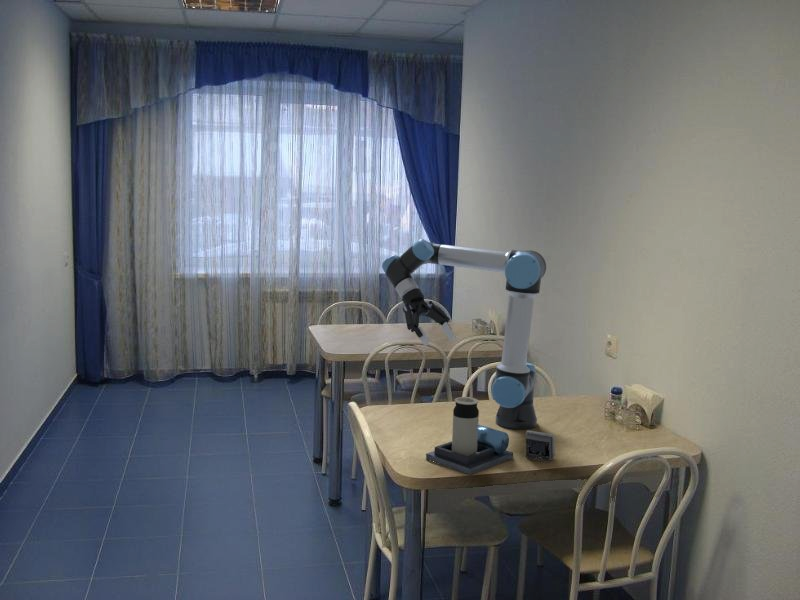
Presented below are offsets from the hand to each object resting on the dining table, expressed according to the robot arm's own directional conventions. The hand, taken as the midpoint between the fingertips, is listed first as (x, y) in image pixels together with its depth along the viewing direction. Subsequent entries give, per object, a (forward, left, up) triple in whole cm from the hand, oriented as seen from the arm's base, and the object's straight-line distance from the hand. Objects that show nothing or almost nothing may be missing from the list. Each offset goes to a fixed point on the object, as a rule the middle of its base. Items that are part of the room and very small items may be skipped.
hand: (440, 341), depth 277 cm
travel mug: (+16, +25, -31) cm, 43 cm away
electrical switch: (-4, +40, -33) cm, 52 cm away
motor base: (+13, +25, -33) cm, 43 cm away
